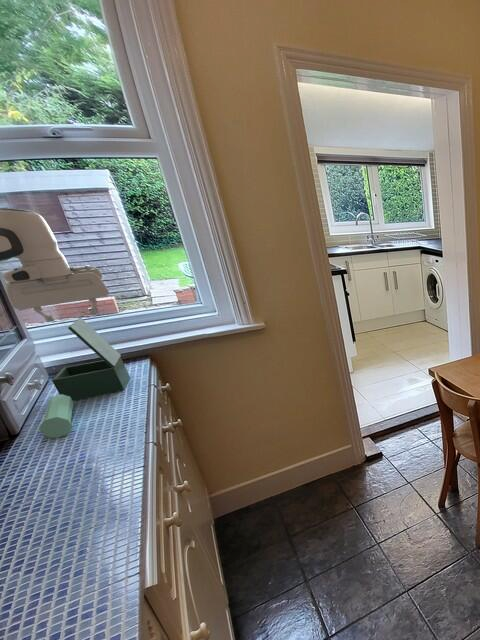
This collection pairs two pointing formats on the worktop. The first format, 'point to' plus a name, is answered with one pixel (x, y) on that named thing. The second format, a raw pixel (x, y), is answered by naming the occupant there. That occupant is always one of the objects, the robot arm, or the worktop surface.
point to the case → (91, 379)
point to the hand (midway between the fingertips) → (72, 317)
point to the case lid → (95, 342)
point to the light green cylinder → (57, 417)
